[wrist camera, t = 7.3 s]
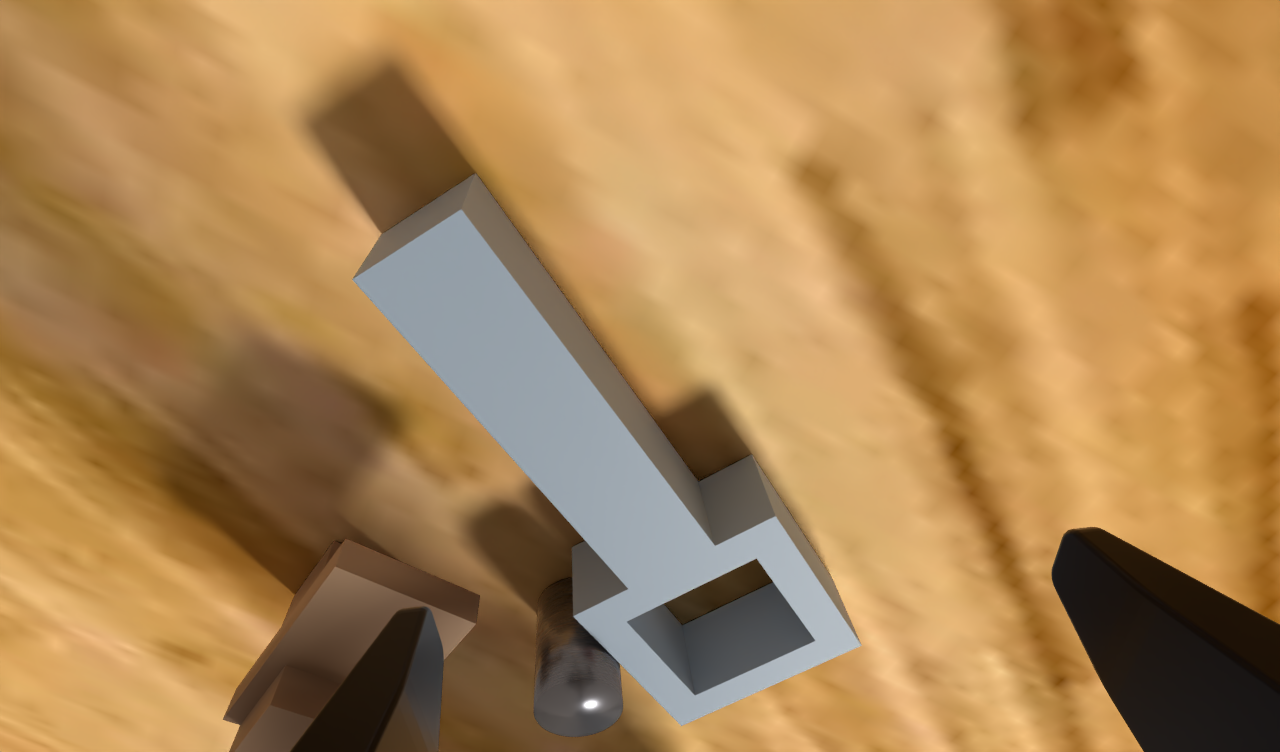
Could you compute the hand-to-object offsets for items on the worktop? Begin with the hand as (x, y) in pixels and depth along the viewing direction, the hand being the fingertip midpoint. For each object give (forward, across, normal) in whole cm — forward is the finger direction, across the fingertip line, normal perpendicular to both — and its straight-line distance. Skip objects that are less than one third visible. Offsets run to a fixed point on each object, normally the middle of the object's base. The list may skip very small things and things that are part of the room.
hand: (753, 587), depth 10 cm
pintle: (+11, +4, +13) cm, 17 cm away
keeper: (+11, +10, +9) cm, 17 cm away
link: (+11, +2, +6) cm, 13 cm away
